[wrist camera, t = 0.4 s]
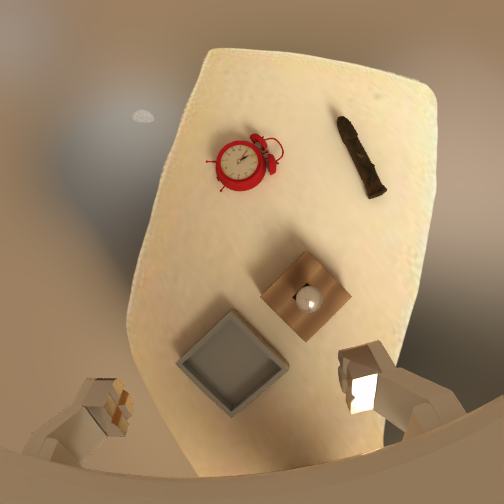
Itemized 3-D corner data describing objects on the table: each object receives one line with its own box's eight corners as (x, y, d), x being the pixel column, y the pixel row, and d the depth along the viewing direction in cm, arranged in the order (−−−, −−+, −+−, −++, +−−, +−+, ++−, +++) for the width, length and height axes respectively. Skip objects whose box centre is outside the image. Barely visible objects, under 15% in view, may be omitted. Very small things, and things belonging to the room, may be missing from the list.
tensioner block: (346, 294, 60) (351, 296, 55) (303, 337, 60) (305, 342, 55) (304, 252, 61) (306, 250, 56) (261, 295, 61) (260, 297, 57)
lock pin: (320, 295, 60) (327, 299, 51) (304, 311, 60) (308, 318, 51) (305, 279, 60) (309, 280, 51) (289, 295, 60) (290, 299, 51)
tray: (288, 363, 60) (289, 369, 57) (233, 410, 60) (231, 417, 57) (233, 308, 62) (230, 310, 58) (180, 358, 62) (175, 363, 59)
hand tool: (383, 195, 61) (390, 190, 56) (367, 201, 61) (373, 196, 56) (347, 118, 62) (351, 108, 58) (332, 123, 63) (335, 113, 58)
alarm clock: (200, 155, 61) (263, 116, 57) (212, 162, 67) (270, 127, 63) (221, 198, 60) (289, 159, 56) (232, 202, 66) (294, 167, 62)
